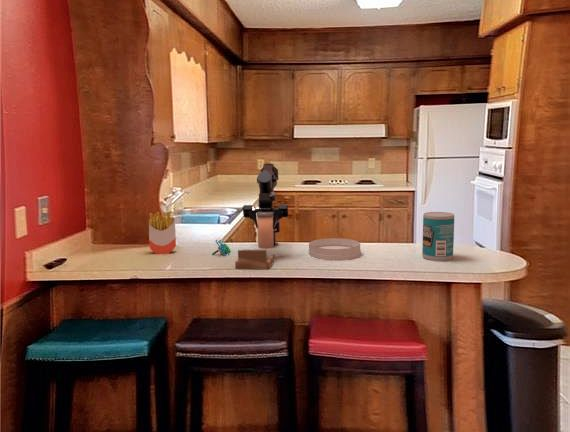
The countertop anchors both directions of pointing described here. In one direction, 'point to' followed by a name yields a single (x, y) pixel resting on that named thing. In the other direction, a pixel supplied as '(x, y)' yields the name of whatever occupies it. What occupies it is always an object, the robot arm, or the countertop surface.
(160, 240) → the french fries container
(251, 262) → the brown wooden frame
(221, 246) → the stick construction toy
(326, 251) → the dish
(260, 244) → the jar
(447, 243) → the food can
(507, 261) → the countertop surface
